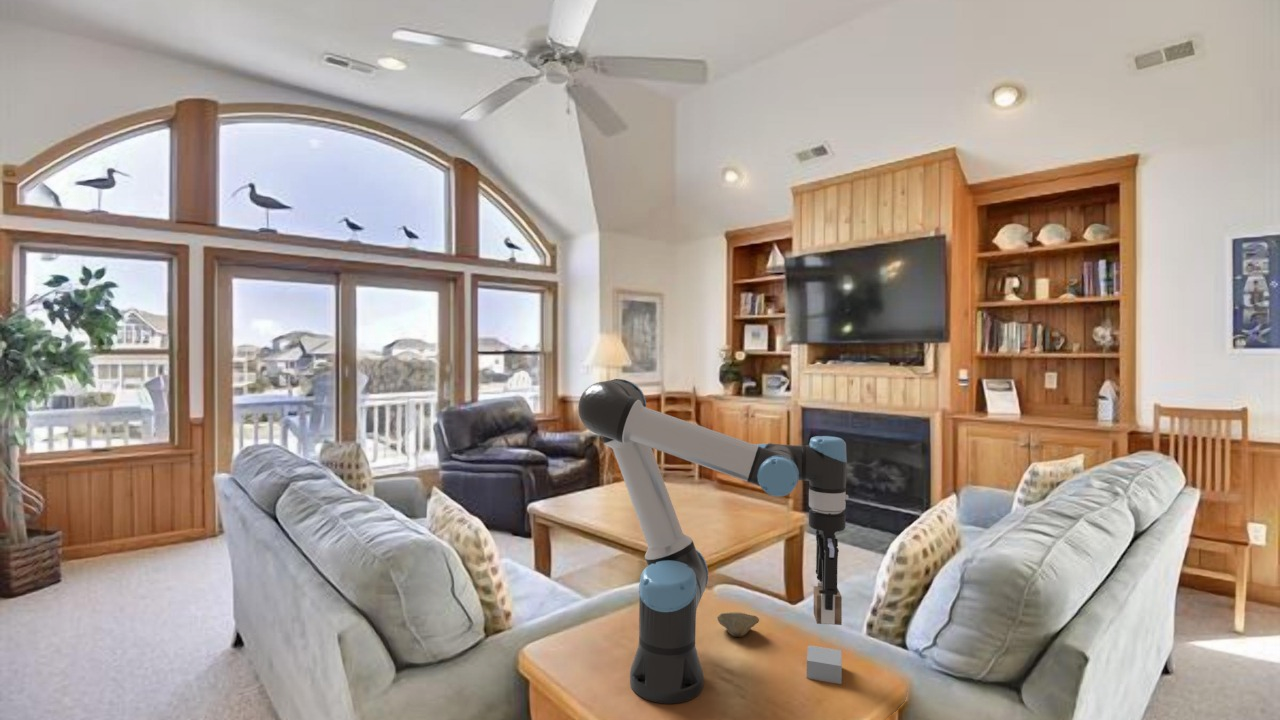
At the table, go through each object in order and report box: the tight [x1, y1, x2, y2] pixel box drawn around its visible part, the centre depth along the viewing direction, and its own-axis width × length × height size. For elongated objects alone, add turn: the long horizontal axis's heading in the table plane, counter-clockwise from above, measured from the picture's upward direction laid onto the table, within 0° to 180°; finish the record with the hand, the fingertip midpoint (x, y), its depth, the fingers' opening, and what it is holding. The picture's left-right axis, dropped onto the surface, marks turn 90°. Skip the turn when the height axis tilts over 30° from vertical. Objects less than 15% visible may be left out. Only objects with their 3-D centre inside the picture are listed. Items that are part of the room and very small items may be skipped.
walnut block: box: [813, 585, 843, 626], centre depth 128 cm, size 5×5×6 cm
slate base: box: [806, 644, 843, 685], centre depth 128 cm, size 7×7×4 cm
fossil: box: [717, 611, 760, 638], centre depth 144 cm, size 9×4×10 cm
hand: (825, 617), depth 128 cm, fingers closed on walnut block, 5 cm apart
